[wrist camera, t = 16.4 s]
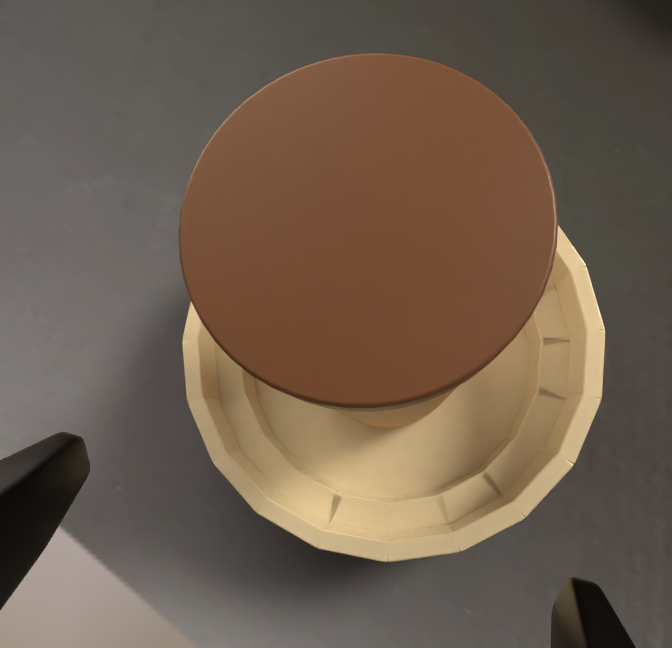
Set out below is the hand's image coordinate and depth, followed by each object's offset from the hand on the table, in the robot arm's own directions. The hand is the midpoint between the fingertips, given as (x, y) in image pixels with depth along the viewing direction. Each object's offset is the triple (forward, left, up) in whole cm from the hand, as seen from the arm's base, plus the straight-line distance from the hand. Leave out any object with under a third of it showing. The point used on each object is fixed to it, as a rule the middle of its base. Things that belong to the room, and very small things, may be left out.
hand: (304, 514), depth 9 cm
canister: (+5, 0, -11) cm, 12 cm away
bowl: (+5, 0, -12) cm, 13 cm away
